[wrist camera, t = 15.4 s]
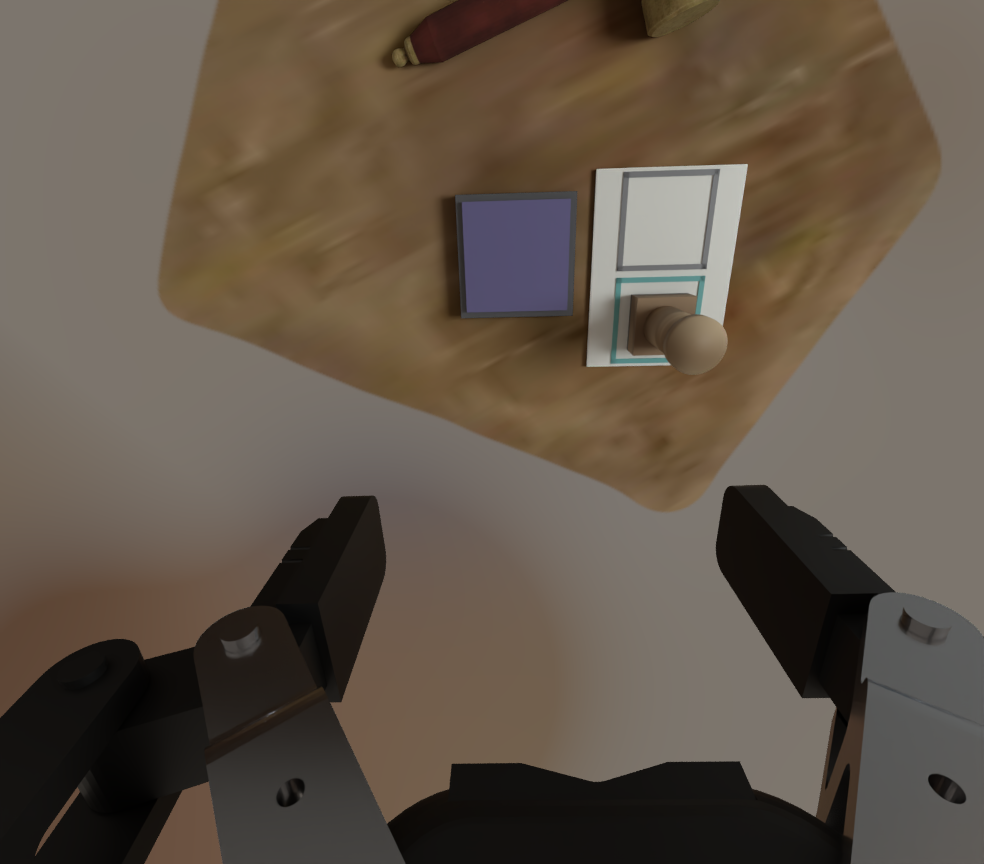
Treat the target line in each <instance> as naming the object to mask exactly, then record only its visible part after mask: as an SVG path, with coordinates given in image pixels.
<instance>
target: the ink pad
mask: <svg viewBox="0 0 984 864" xmlns="http://www.w3.org/2000/svg"><path fill="white" fill-rule="evenodd" d="M455 201H456V221H457V241H458V261H459V281H460V301H461V318H490V317H534V316H573V292H574V265H575V238H576V211H577V191H570V192H538V193H505V194H473V195H455Z"/></svg>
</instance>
